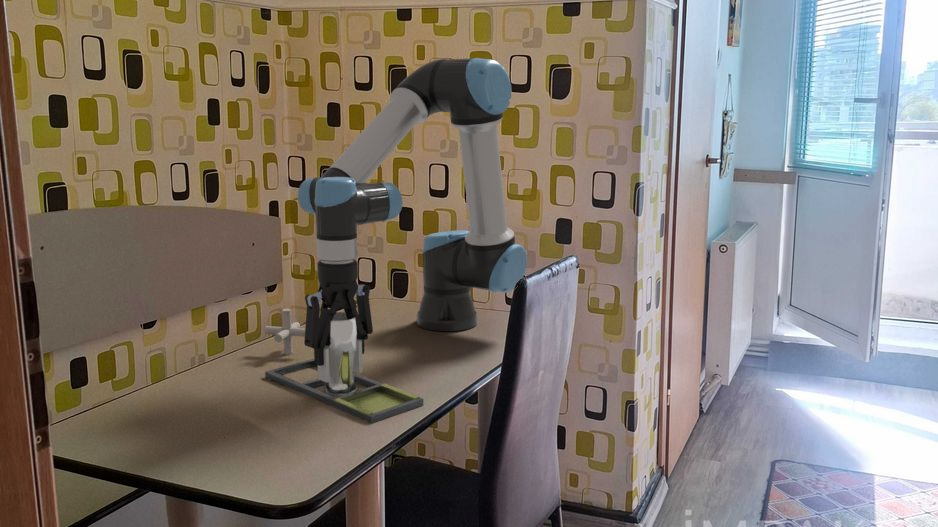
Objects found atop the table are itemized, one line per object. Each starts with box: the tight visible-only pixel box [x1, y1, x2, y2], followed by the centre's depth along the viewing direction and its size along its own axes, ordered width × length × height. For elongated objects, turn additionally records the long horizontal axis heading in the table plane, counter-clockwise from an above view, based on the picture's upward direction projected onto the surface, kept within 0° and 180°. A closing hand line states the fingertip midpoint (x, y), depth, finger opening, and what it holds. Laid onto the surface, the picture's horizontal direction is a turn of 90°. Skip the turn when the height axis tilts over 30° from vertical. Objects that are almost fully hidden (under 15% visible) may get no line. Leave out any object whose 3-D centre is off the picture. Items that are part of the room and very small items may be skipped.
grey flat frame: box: [264, 358, 424, 424], centre depth 167 cm, size 12×34×1 cm, turn 45°
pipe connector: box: [264, 308, 305, 356], centre depth 189 cm, size 10×10×10 cm
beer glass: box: [324, 311, 358, 397], centre depth 166 cm, size 7×7×15 cm
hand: (340, 375), depth 167 cm, fingers open, 7 cm apart
